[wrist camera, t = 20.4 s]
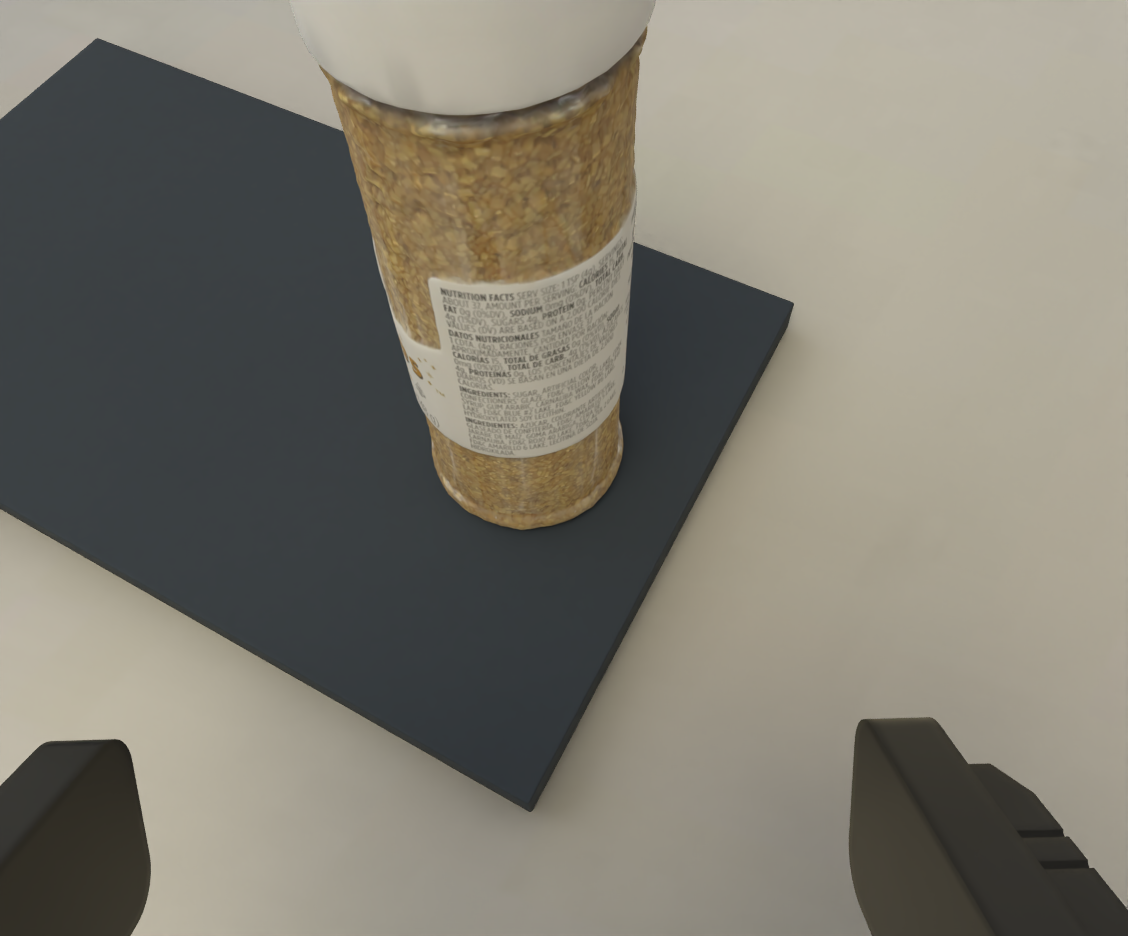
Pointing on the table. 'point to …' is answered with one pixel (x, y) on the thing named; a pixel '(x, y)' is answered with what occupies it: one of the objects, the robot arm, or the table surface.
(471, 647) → the mat
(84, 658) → the table surface
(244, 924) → the table surface
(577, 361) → the sprinkles bottle
